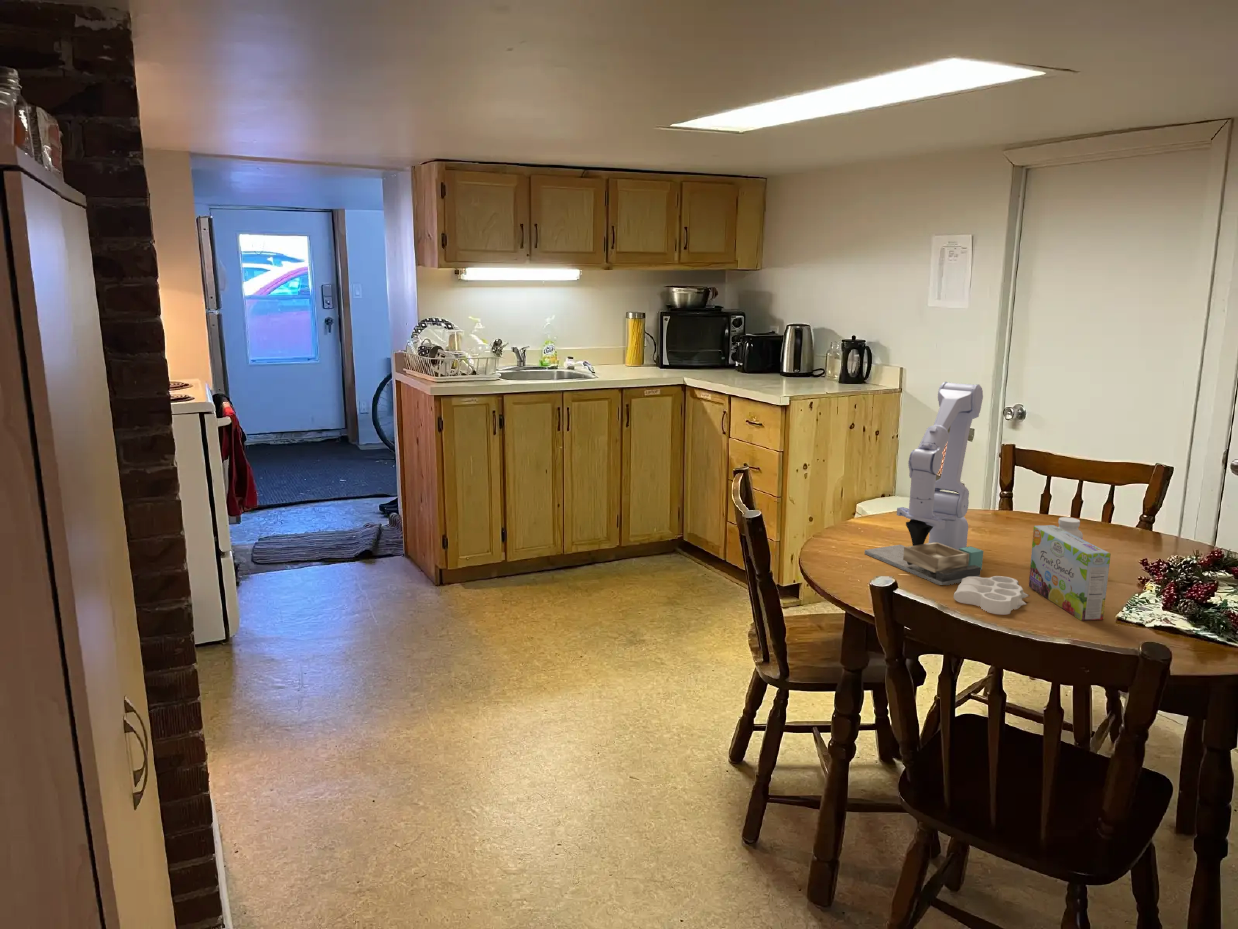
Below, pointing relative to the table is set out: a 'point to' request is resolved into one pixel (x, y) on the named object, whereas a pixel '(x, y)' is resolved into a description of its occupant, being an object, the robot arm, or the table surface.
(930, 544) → the brown open box
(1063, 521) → the supplement bottle
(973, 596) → the white paw tray
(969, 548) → the block
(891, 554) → the rail board
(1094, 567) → the snack box
